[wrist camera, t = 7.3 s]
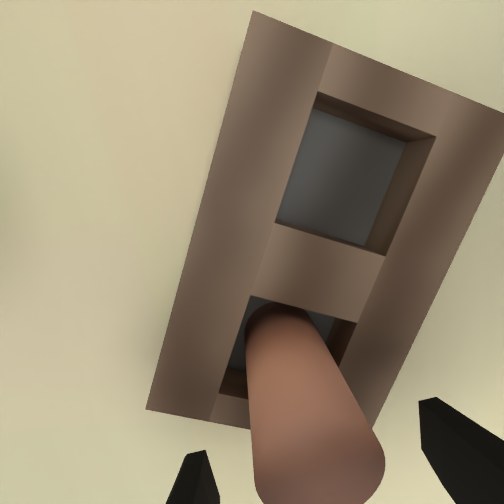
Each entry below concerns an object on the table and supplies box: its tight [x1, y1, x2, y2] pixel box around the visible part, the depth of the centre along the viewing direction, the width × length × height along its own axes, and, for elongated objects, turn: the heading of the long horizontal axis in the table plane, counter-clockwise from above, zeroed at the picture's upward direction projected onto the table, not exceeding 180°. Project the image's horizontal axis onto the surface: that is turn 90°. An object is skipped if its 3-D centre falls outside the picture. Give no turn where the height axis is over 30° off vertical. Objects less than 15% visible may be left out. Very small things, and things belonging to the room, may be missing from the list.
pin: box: [244, 302, 385, 504], centre depth 13 cm, size 4×4×8 cm
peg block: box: [146, 10, 504, 430], centre depth 15 cm, size 12×18×3 cm, turn 163°
